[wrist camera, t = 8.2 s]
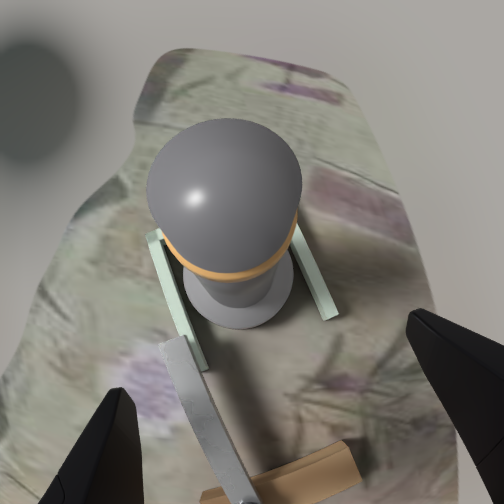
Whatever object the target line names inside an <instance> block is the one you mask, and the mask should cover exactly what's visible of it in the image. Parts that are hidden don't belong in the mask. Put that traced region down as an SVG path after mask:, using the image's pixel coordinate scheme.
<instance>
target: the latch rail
mask: <svg viewBox="0 0 504 504" xmlns="http://www.w3.org/2000/svg"><path fill="white" fill-rule="evenodd" d="M250 478H251V480H252V482H253V484H254V486H255V488H256V489H257V491H258V493H259V495H260V497H261V499H262V501H263V502H264V504H314V503H316V502H319V501H321V500H323V499H326V498H328V497H330V496H332V495H335V494H337V493H339V492H341V491H343V490H345V489H347V488H349V487H352V486H354V485H356V484H358V483H359V482H361V481H362V478H361V476H360V473H359V471H358V469H357V466H356V464H355V461H354V459H353V456H352V454H351V452H350V449H349V447H348V446H347V445H346V444H345V443H344V442H343V441H342V440H340V441H338V442H336V443H334V444H332V445H330V446H328V447H326V448H324V449H321V450H319V451H317V452H315V453H313V454H310V455H308V456H306V457H303V458H301V459H298V460H296V461H294V462H291V463H289V464H286V465H284V466H281V467H278V468H276V469H273V470H270V471H268V472H265V473H262V474H259V475H256V476H253V477H250ZM200 504H231V502H230V501H229V499H228V497H227V495H226V494H225V492H224V490H223V488H222V486H221V487H218V488H214V489H211V490H207V491H203V493H202V496H201V499H200Z"/></svg>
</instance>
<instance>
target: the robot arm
mask: <svg viewBox="0 0 504 504" xmlns="http://www.w3.org/2000/svg"><path fill="white" fill-rule="evenodd" d="M406 336H407V338H408V340H409V342H410V344H411V347H412V349H413V351H414V353H415V355H416V357H417V359H418V361H419V363H420V366H421V368H422V370H423V372H424V374H425V376H426V377H427V379H428V381H429V382H430V384H431V386H432V387H433V389H434V391H435V393H436V394H437V396H438V398H439V399H440V401H441V403H442V405H443V406H444V408H445V410H446V412H447V413H448V415H449V417H450V419H451V421H452V422H453V424H454V426H455V428H456V430H457V431H458V433H459V435H460V437H461V439H462V440H463V443H464V444H465V446H466V448H467V450H468V452H469V454H470V456H471V458H472V460H473V462H474V464H475V466H476V468H477V470H478V472H479V474H480V476H481V478H482V480H483V482H484V484H485V486H486V489H487V491H488V493H489V495H490V497H491V499H492V502H493V504H504V345H501V344H499V343H497V342H495V341H493V340H491V339H488V338H486V337H484V336H482V335H480V334H478V333H475V332H473V331H471V330H469V329H467V328H464V327H462V326H460V325H457V324H455V323H453V322H451V321H449V320H447V319H445V318H442V317H440V316H438V315H436V314H434V313H431V312H429V311H427V310H425V309H422V308H419V309H416V310H413V311H411V312H410V313H409V315H408V321H407V326H406ZM38 504H144V492H143V474H142V451H141V443H140V436H139V428H138V420H137V411H136V406H135V403H134V402H133V400H132V399H131V397H130V396H129V395H128V393H127V392H126V390H125V389H124V388H122V387H119V388H112V389H110V390H109V391H108V393H107V394H106V396H105V397H104V399H103V400H102V402H101V404H100V405H99V407H98V408H97V410H96V411H95V413H94V414H93V416H92V418H91V419H90V421H89V422H88V424H87V426H86V427H85V429H84V430H83V432H82V434H81V435H80V437H79V438H78V440H77V442H76V443H75V445H74V446H73V448H72V450H71V451H70V453H69V455H68V456H67V458H66V460H65V461H64V463H63V464H62V466H61V468H60V469H59V471H58V475H56V476H55V478H54V479H53V481H52V483H51V484H50V486H49V488H48V489H47V491H46V492H45V494H44V495H43V497H42V498H41V500H40V501H39V503H38Z"/></svg>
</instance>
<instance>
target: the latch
mask: <svg viewBox="0 0 504 504" xmlns="http://www.w3.org/2000/svg"><path fill="white" fill-rule="evenodd" d="M158 346H159V349H160V351H161V354H162V357H163V359H164V362H165V364H166V367H167V370H168V372H169V375H170V377H171V380H172V382H173V384H174V387H175V389H176V392H177V394H178V396H179V399H180V401H181V403H182V406H183V408H184V410H185V413H186V415H187V417H188V419H189V422H190V424H191V426H192V428H193V430H194V432H195V435H196V437H197V439H198V441H199V443H200V445H201V447H202V449H203V451H204V453H205V455H206V457H207V459H208V461H209V463H210V465H211V467H212V469H213V471H214V473H215V475H216V477H217V479H218V481H219V482H220V484H221V486H222V488H223V490H224V492H225V494H226V495H227V497H228V499H229V501H230V502H231V504H264V502H263V501H262V499H261V497H260V495H259V493H258V491H257V489H256V488H255V486H254V484H253V482H252V480H251V478H250V476H249V474H248V472H247V470H246V468H245V466H244V464H243V462H242V460H241V458H240V456H239V454H238V452H237V450H236V448H235V446H234V444H233V442H232V439H231V437H230V435H229V433H228V431H227V429H226V427H225V424H224V422H223V420H222V418H221V416H220V414H219V411H218V409H217V407H216V405H215V402H214V400H213V398H212V395H211V393H210V391H209V388H208V386H207V384H206V381H205V379H204V377H203V374H202V372H201V369H200V367H199V364H198V362H197V359H196V357H195V355H194V352H193V349H192V347H191V344H190V342H189V339H188V337H187V335H182V336H179V337H177V338H174V339H171V340H168V341H166V342H163V343H160V344H158Z"/></svg>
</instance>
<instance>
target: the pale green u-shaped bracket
mask: <svg viewBox="0 0 504 504" xmlns="http://www.w3.org/2000/svg"><path fill="white" fill-rule="evenodd" d="M145 236H146V239H147V242H148V245H149V249H150V252H151V255H152V258H153V261H154V265H155V268H156V271H157V274H158V277H159V280H160V283H161V286H162V289H163V292H164V295H165V297H166V300H167V303H168V306H169V309H170V312H171V314H172V317H173V320H174V323H175V325H176V328H177V331H178V333H179V336H182V335H187V337H188V339H189V342H190V344H191V347H192V349H193V352H194V355H195V357H196V359H197V362H198V364H199V367H200V369H201V372H202V371H204V370H207V369H209V367H208V365H207V362H206V360H205V357H204V355H203V352H202V350H201V347H200V345H199V342H198V340H197V337H196V335H195V332H194V330H193V327H192V324H191V322H190V319H189V316H188V314H187V311H186V308H185V306H184V303H183V300H182V298H181V295H180V292H179V289H178V286H177V284H176V281H175V278H174V275H173V272H172V269H171V266H170V263H169V260H168V257H167V254H166V251H165V248H164V245H167V244H166V242H165V240H164V237H163V234H162V231H161V229H160V228H159V229H156V230H154V231H151V232H149V233H146V234H145ZM289 245H290V247H291V250H292V252H293V254H294V256H295V258H296V261H297V263H298V265H299V267H300V269H301V272H302V274H303V276H304V278H305V280H306V283H307V285H308V287H309V289H310V292H311V294H312V296H313V298H314V301H315V303H316V305H317V307H318V310H319V312H320V314H321V317H322V319H323V321H325V320H327V319H330V318H332V317H334V316H336V315H338V314H339V313H338V311H337V309H336V306H335V304H334V302H333V299H332V297H331V295H330V293H329V291H328V288H327V286H326V284H325V282H324V279H323V277H322V275H321V273H320V271H319V269H318V266H317V264H316V262H315V260H314V258H313V256H312V253H311V251H310V249H309V247H308V245H307V243H306V241H305V239H304V237H303V234H302V232H301V230H300V228H299V226H298V224H296V228H295V231H294V234H293V237H292V240H291V242H290V244H289Z"/></svg>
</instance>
